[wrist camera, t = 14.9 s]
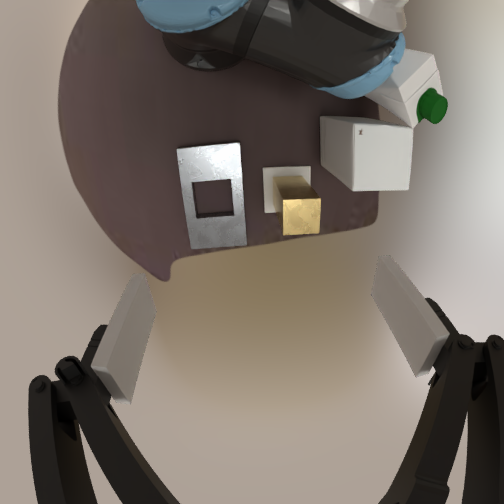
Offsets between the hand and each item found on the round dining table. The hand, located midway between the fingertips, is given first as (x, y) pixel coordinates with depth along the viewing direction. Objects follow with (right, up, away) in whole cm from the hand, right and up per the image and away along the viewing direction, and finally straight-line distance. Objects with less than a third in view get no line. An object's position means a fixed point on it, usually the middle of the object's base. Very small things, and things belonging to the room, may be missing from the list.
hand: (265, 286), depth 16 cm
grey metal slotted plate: (-7, +11, +33) cm, 36 cm away
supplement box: (+15, +21, +29) cm, 39 cm away
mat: (+5, +13, +33) cm, 36 cm away
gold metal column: (+5, +12, +33) cm, 35 cm away
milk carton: (+12, +34, +20) cm, 41 cm away
